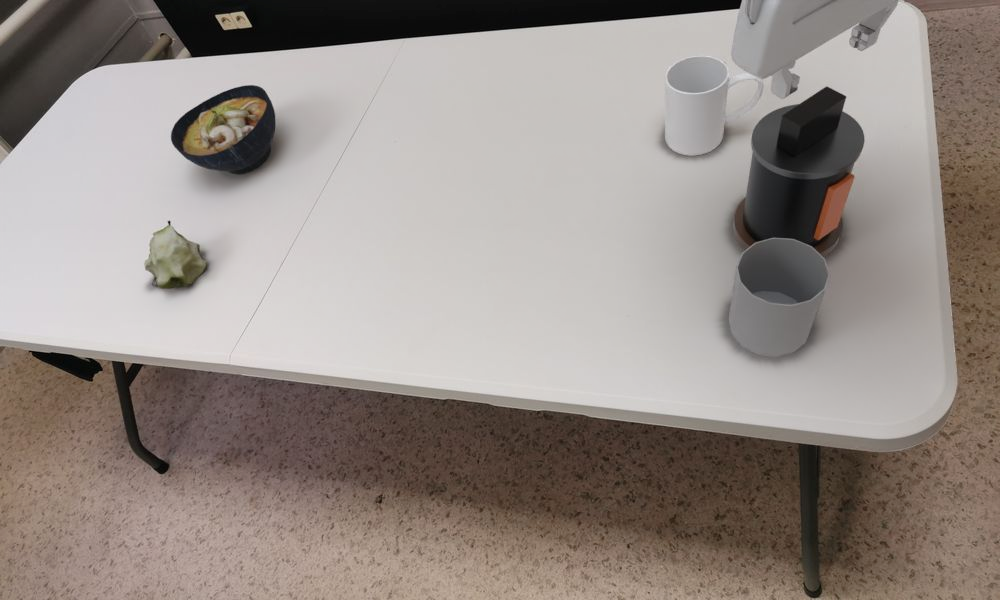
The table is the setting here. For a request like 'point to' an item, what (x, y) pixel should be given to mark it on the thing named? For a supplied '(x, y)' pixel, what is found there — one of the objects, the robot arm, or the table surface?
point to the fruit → (173, 259)
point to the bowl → (228, 131)
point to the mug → (700, 103)
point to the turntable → (748, 241)
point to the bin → (802, 169)
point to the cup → (776, 296)
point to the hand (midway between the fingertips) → (822, 68)
